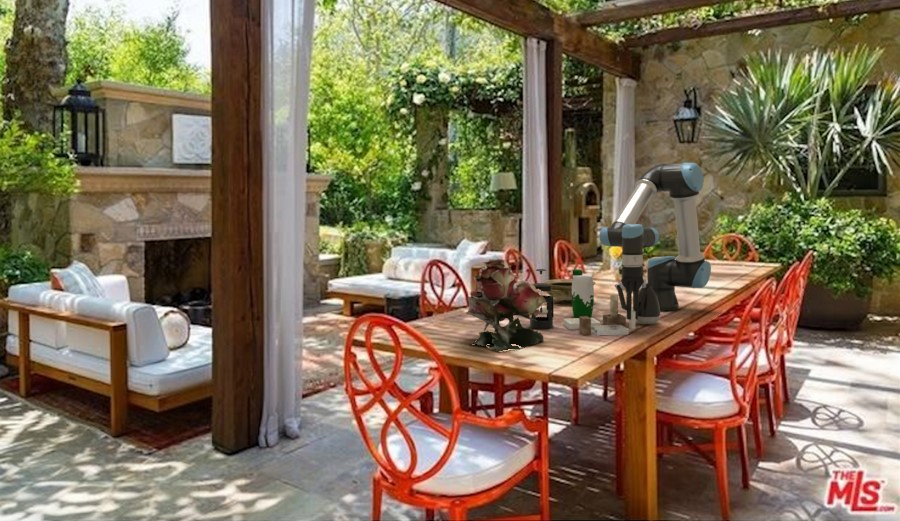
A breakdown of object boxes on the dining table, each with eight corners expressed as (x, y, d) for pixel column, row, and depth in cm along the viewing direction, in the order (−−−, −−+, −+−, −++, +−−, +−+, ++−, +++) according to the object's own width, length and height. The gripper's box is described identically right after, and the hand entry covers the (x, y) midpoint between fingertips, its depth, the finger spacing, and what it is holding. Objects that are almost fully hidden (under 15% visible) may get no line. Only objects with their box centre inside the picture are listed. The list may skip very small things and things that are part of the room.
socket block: (619, 323, 274) (619, 313, 274) (625, 327, 267) (625, 316, 267) (602, 324, 274) (602, 314, 273) (608, 327, 267) (608, 317, 266)
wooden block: (587, 331, 260) (587, 316, 259) (590, 334, 255) (590, 318, 254) (579, 332, 260) (579, 316, 259) (583, 334, 255) (583, 319, 254)
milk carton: (572, 315, 295) (571, 268, 293) (593, 315, 293) (593, 268, 291) (571, 318, 286) (571, 271, 284) (593, 319, 284) (593, 271, 282)
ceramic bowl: (573, 309, 308) (573, 287, 307) (530, 304, 324) (530, 283, 323) (608, 300, 329) (608, 280, 328) (566, 296, 346) (566, 276, 345)
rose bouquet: (553, 339, 249) (553, 256, 246) (504, 354, 227) (503, 264, 224) (497, 330, 266) (496, 253, 263) (447, 344, 244) (445, 260, 241)
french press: (541, 330, 264) (541, 271, 261) (523, 327, 271) (522, 269, 268) (561, 326, 271) (560, 268, 269) (543, 323, 279) (542, 266, 276)
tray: (592, 323, 275) (593, 317, 275) (600, 328, 265) (600, 322, 265) (563, 325, 274) (563, 318, 274) (569, 330, 264) (569, 323, 264)
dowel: (616, 324, 272) (616, 294, 271) (619, 326, 269) (619, 296, 268) (609, 325, 272) (609, 295, 271) (611, 326, 269) (611, 296, 268)
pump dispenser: (660, 321, 277) (661, 284, 275) (659, 326, 267) (660, 287, 265) (634, 320, 280) (634, 283, 278) (632, 325, 270) (632, 287, 269)
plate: (620, 331, 263) (620, 324, 262) (628, 335, 254) (628, 329, 253) (590, 332, 262) (589, 325, 261) (596, 337, 253) (596, 330, 253)
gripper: (618, 267, 252) (618, 330, 255) (653, 266, 253) (652, 329, 255) (612, 265, 260) (612, 326, 262) (645, 264, 260) (645, 325, 263)
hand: (632, 327), depth 259 cm, fingers closed
